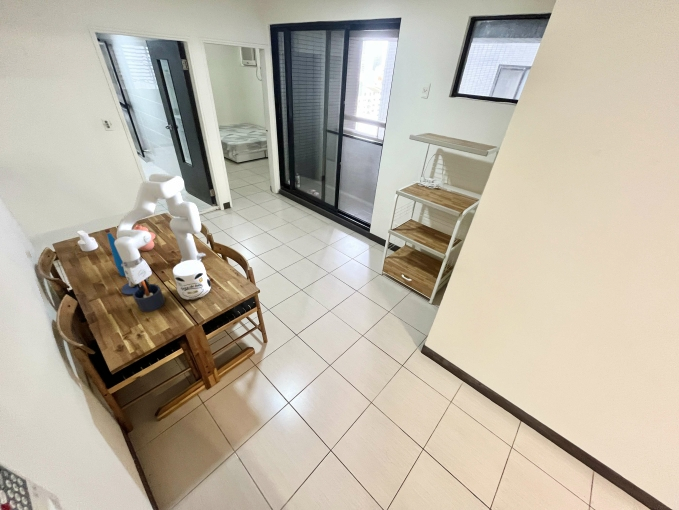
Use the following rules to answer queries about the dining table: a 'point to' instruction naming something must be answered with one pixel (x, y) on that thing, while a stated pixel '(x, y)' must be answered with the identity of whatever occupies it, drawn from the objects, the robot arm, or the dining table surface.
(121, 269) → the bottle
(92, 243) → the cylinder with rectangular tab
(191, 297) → the milk container
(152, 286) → the tin
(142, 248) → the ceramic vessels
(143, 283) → the brush
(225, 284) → the dining table surface
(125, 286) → the tin lid
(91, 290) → the dining table surface
